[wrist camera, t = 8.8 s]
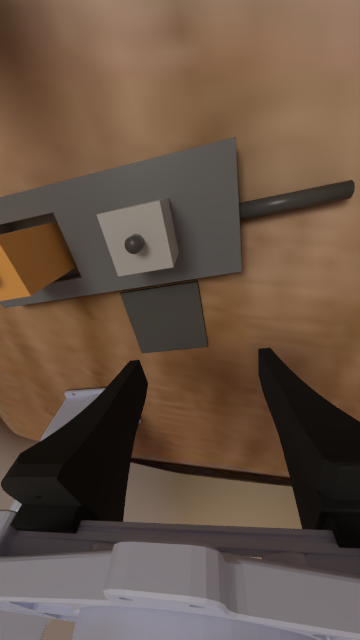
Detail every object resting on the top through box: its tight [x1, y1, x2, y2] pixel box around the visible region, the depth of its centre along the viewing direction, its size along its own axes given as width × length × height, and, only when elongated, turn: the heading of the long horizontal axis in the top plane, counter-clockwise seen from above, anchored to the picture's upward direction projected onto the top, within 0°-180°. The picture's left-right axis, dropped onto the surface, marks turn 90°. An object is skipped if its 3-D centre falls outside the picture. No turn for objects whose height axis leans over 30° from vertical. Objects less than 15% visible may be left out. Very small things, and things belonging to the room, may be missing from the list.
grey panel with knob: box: [0, 137, 355, 308], centre depth 16 cm, size 32×9×7 cm, turn 101°
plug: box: [0, 222, 77, 301], centre depth 17 cm, size 4×4×8 cm
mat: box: [121, 281, 208, 353], centre depth 24 cm, size 8×8×1 cm
